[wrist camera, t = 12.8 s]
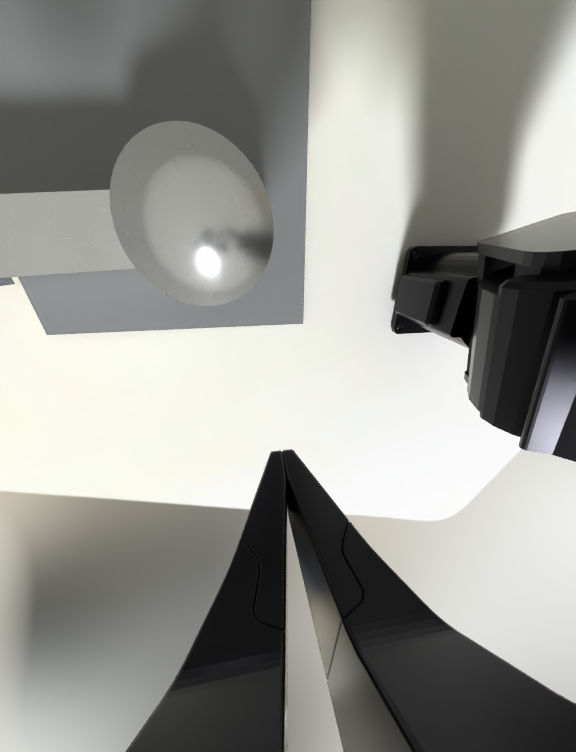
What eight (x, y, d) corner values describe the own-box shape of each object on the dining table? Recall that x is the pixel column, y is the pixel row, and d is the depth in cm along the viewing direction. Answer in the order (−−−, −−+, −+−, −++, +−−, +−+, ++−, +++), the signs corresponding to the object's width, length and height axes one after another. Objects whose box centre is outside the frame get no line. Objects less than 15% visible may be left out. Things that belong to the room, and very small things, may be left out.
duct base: (309, -40, 11) (327, -130, 8) (301, 321, 19) (309, 332, 16) (-159, -106, 9) (-330, -254, 6) (53, 332, 17) (17, 347, 14)
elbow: (261, 156, 13) (266, 116, 9) (272, 289, 16) (279, 300, 13) (-76, 165, 12) (-239, 123, 8) (11, 310, 15) (-72, 331, 11)
